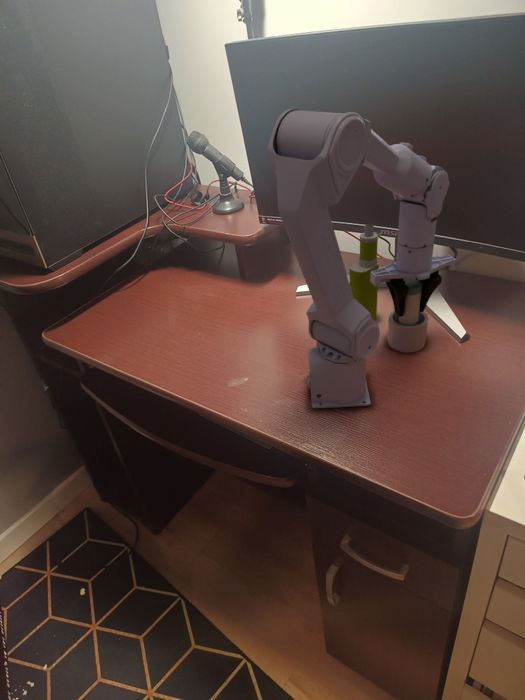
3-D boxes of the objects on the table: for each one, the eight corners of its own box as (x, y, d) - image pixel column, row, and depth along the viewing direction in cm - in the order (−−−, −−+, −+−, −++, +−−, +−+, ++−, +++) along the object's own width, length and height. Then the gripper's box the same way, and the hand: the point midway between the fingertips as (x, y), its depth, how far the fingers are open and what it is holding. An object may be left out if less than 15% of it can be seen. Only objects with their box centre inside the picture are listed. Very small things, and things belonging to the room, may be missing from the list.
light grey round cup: (391, 353, 85) (392, 329, 82) (384, 332, 90) (386, 308, 87) (429, 351, 84) (432, 326, 81) (420, 330, 90) (423, 306, 86)
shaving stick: (403, 326, 83) (407, 290, 78) (395, 316, 86) (397, 281, 81) (422, 322, 83) (426, 286, 79) (412, 313, 86) (416, 277, 81)
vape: (379, 318, 94) (384, 224, 83) (360, 330, 92) (362, 235, 80) (365, 311, 97) (368, 220, 85) (346, 323, 94) (346, 230, 82)
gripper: (384, 259, 71) (380, 331, 79) (470, 241, 73) (458, 314, 81) (366, 242, 77) (364, 311, 85) (446, 226, 78) (437, 295, 86)
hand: (409, 311), depth 83 cm, fingers closed on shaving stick, 3 cm apart
